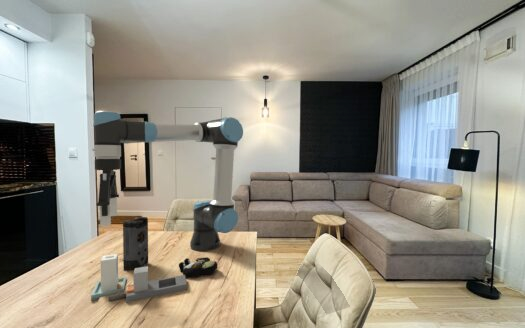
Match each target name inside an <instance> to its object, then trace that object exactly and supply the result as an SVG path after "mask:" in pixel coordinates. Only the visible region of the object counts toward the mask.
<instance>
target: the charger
mask: <svg viewBox="0 0 525 328" xmlns="http://www.w3.org/2000/svg"><path fill="white" fill-rule="evenodd" d="M118 278H119V254H118V253H114V254H113V253H112V254H107V255H103V256H102V257H101V259H100V281H101V292H106V291H111V290H116V289H118V285H119V281H118Z"/></svg>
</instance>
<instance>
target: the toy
mask: <svg viewBox="0 0 525 328" xmlns="http://www.w3.org/2000/svg"><path fill="white" fill-rule="evenodd" d="M218 265H219V264H218V262H217V261H216V260H213V261H212V260H211V258H210V257H209V256H208V257H207V256H206V257H198V258H196V259H195V261H193V262H191V259H190V258H188V257H187V258H184V261H181V262H179V263H178V269H179V271H180V273H182V275H185V278H198V277H200V276H201V277H207V276H209V277H210V276H211V275H213V274H214V273H215V271H216V270H217V269H218V267H219V266H218Z"/></svg>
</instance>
